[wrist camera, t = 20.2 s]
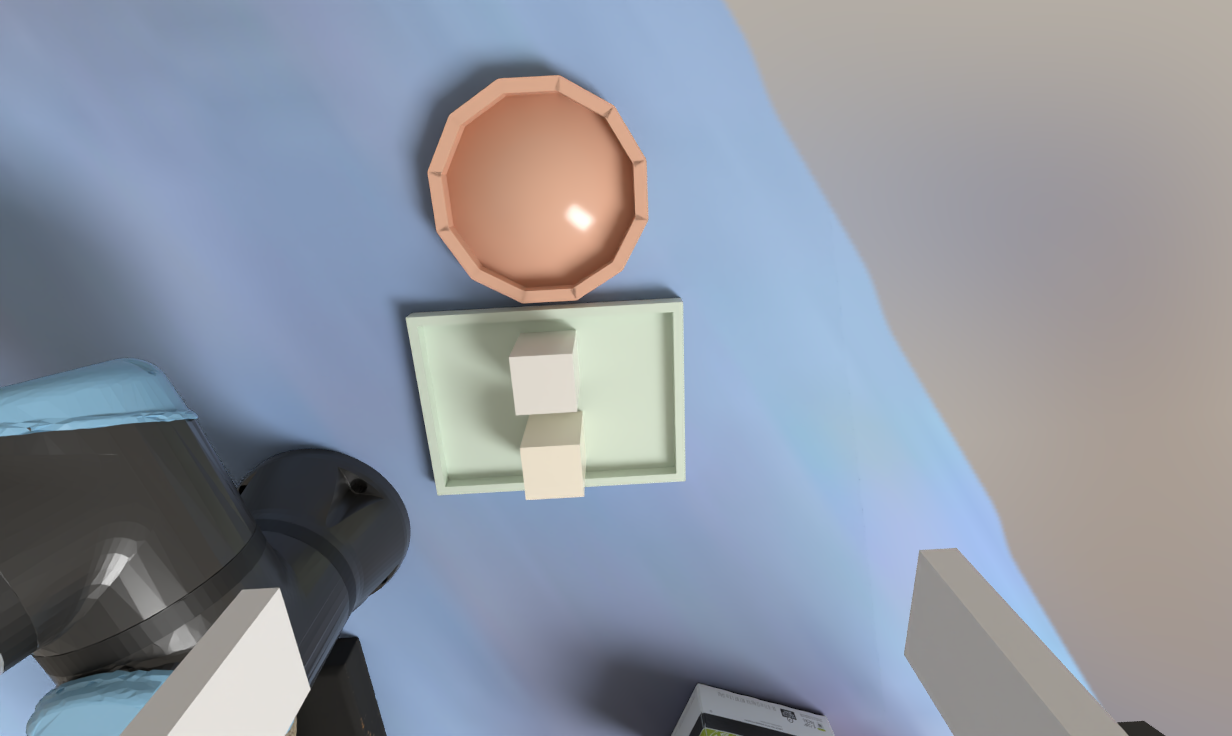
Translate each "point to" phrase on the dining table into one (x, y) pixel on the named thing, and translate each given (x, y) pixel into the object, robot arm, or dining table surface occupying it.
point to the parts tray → (609, 391)
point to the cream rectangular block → (554, 456)
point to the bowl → (539, 189)
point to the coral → (340, 697)
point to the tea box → (744, 717)
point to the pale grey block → (545, 372)
